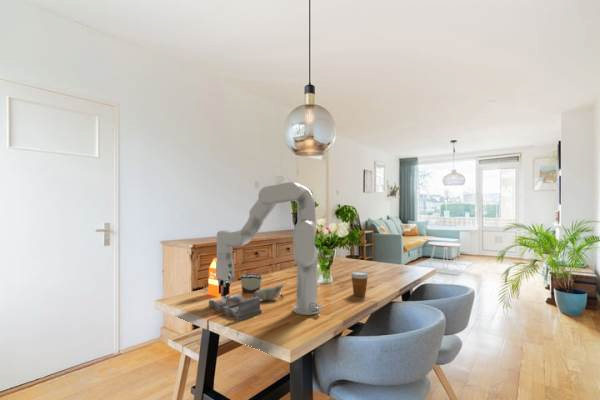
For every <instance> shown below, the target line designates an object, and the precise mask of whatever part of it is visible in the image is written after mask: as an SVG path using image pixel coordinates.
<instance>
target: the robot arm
mask: <svg viewBox="0 0 600 400" xmlns="http://www.w3.org/2000/svg"><path fill="white" fill-rule="evenodd" d="M257 196H258V199H257V200H256V201H255V203H254V204H253V206H252V207H251V208H250V210H249V212H248V213H249V214H248V215H249V216H248V219H247V221H246V222H245V224H244V225H243V227H242V228H241V229H240V230H236V231H231V230H219V231H218V232H217V233H216V258H217V261H216V279H217V280H218V285H219V294H221V285H222V284H224V287H223V295H227V296H229V295H231V284H232V283H234V279H235V264H234V259H233V249H234V248H240V247H243V246H245V245H248V244H249V243H250V242H251V241H252V240H253V239H254V237H255V236H256V235H257V233H258V232H259V230H260V229H261V227H262V225H263V223H264V222H265V220H266V219H267V217H268V216H269V215H270V213H271V212H272V211H273V210H274V208H275V207H276V206H277V205H278V204H281V203H287V202H295V203H296V204H297V205H296V206H297V212H296V213H297V222H296V224H295V225H294V227H293V232H292V236H293V237H292V240H293V241H292V244H293V245H292V246H293V247H292V248H293V250H292V251H293V254H292V255H293V259H294V262H295V263H296V295H295V296H296V297H295V298H296V299H295V300H296V305H294V306H292V311H293V312H294V314H297V315H302V316H313V315H317V314H319V313H321V311H322V309H323V306H322V305H319V301H317V300H318V297H317V296H318V290H317V289H318V261H319V260H318V259H319V256H318V255H319V254H318V249H317V246H316V244H315V243H316V240H315V239H316V238H315V237H316V235H317V222H316V219H317V217H316V202H315V196H314V195H313V193H312V192H311V191H310V189H308V188H307V187H306V186H304V185H302V184H300V183H298V182H295V181H289V182H284V183H278V184H274V185H273V184H272V185H267V186H264V187H262V188H261V189H260V190H259V191H258V195H257ZM233 247H234V248H233ZM227 281H228V282H227ZM226 282H227V283H226Z"/></svg>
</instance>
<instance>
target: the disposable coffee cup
mask: <svg viewBox="0 0 600 400" xmlns="http://www.w3.org/2000/svg"><path fill="white" fill-rule="evenodd" d="M350 276H351V283H352V292H353V295H354V296H355V297H365V296H366V293H367V292H366V291H367V284H368V278H369V273H368V272H366V271H362V270H361V271H358V270H357V271H352V272H351V273H350Z"/></svg>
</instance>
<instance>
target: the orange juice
mask: <svg viewBox="0 0 600 400" xmlns="http://www.w3.org/2000/svg"><path fill="white" fill-rule="evenodd" d="M216 261H217V257H214V258H213V259H212V261H211V263H210V265H209V266H208V295H209V296H210V295H211V296H213V297H217V298H218V297H222V296H221V294H219V285H218V280H217V279H216ZM227 282H228V281H227ZM227 282H226V283H227Z"/></svg>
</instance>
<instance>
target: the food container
mask: <svg viewBox="0 0 600 400" xmlns="http://www.w3.org/2000/svg"><path fill="white" fill-rule="evenodd" d="M239 280H240V283H241V292H242V294H241V295H254V293H255V292H256V291H257V290H260V289H261V282H262V280H263V276H262V275H261V274H260V273H243V274H241V275H240V277H239Z"/></svg>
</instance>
